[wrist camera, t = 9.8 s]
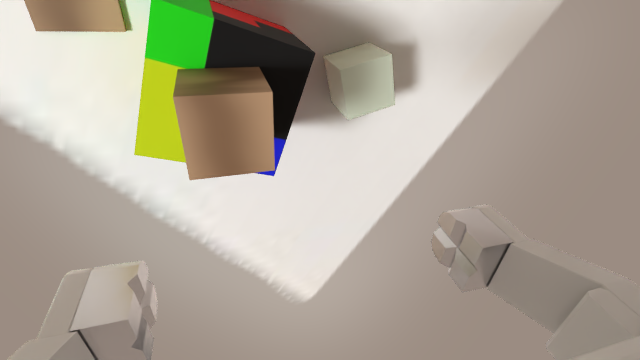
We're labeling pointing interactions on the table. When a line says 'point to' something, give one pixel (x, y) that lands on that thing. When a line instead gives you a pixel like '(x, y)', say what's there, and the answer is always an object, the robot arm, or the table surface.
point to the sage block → (360, 80)
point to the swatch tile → (76, 15)
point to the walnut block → (225, 121)
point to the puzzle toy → (214, 52)
